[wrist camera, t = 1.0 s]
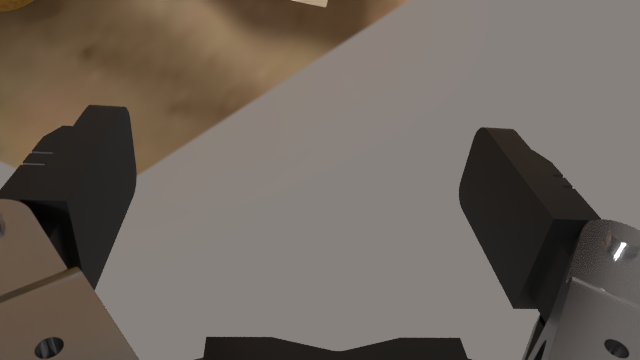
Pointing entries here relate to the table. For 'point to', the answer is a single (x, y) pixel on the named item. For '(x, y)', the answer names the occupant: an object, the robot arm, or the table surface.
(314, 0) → the carton
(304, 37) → the table surface
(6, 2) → the bread roll
